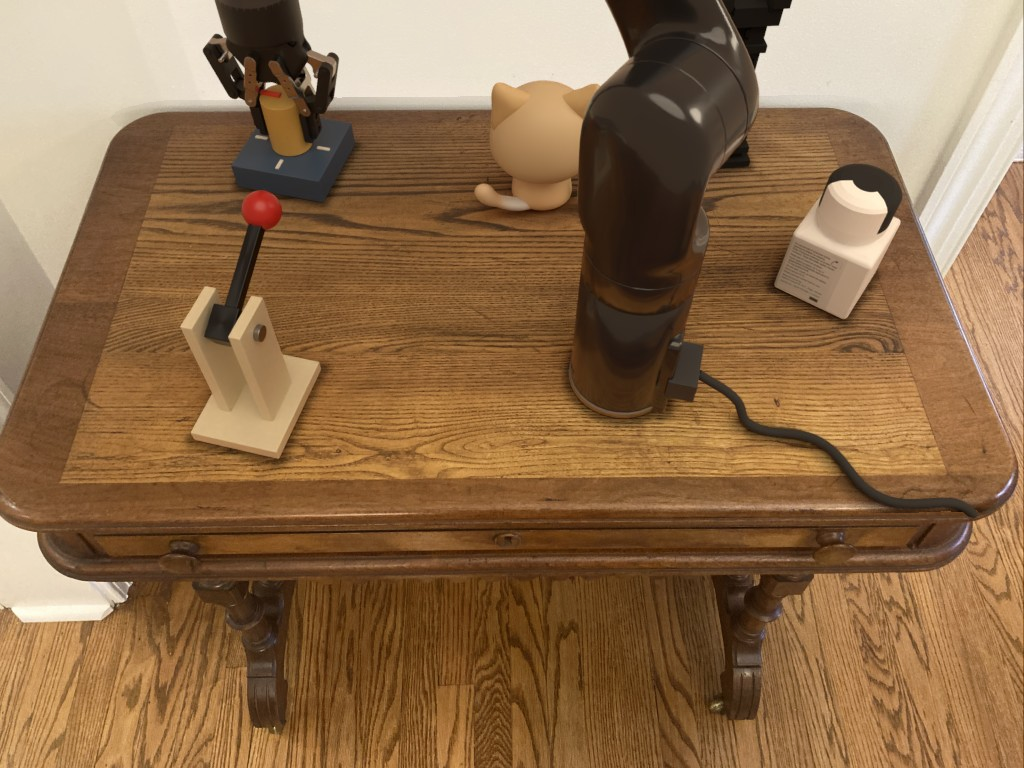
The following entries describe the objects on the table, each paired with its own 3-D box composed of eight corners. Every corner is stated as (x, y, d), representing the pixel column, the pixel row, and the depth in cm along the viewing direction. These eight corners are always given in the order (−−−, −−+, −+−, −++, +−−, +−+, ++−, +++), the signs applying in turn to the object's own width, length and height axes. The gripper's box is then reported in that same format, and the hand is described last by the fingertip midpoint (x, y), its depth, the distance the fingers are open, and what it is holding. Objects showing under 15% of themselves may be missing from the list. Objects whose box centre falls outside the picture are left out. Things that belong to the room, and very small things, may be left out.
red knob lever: (256, 196, 72) (241, 180, 69) (292, 203, 72) (278, 187, 68) (213, 343, 70) (195, 334, 67) (249, 351, 69) (233, 342, 66)
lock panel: (355, 144, 98) (351, 121, 95) (323, 203, 92) (318, 180, 90) (274, 130, 99) (267, 107, 97) (237, 187, 94) (230, 164, 91)
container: (803, 242, 90) (844, 142, 79) (874, 274, 87) (925, 175, 76) (771, 287, 86) (809, 188, 75) (844, 322, 83) (894, 224, 73)
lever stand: (241, 352, 81) (203, 257, 70) (321, 369, 79) (294, 275, 69) (194, 439, 75) (144, 350, 64) (279, 459, 74) (242, 372, 63)
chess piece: (664, 125, 100) (695, -42, 84) (730, 121, 101) (774, -46, 85) (679, 171, 96) (715, 3, 80) (748, 166, 96) (798, -2, 80)
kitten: (611, 166, 96) (626, 47, 84) (616, 230, 90) (634, 111, 78) (478, 165, 96) (474, 45, 84) (475, 228, 90) (470, 109, 78)
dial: (318, 134, 94) (308, 84, 89) (303, 159, 92) (291, 110, 87) (281, 127, 95) (268, 78, 90) (265, 152, 92) (251, 103, 87)
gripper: (162, -7, 77) (214, 145, 91) (310, 16, 75) (340, 168, 89) (199, -49, 82) (243, 103, 95) (340, -28, 80) (364, 123, 94)
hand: (290, 133), depth 92 cm, fingers closed on dial, 4 cm apart
